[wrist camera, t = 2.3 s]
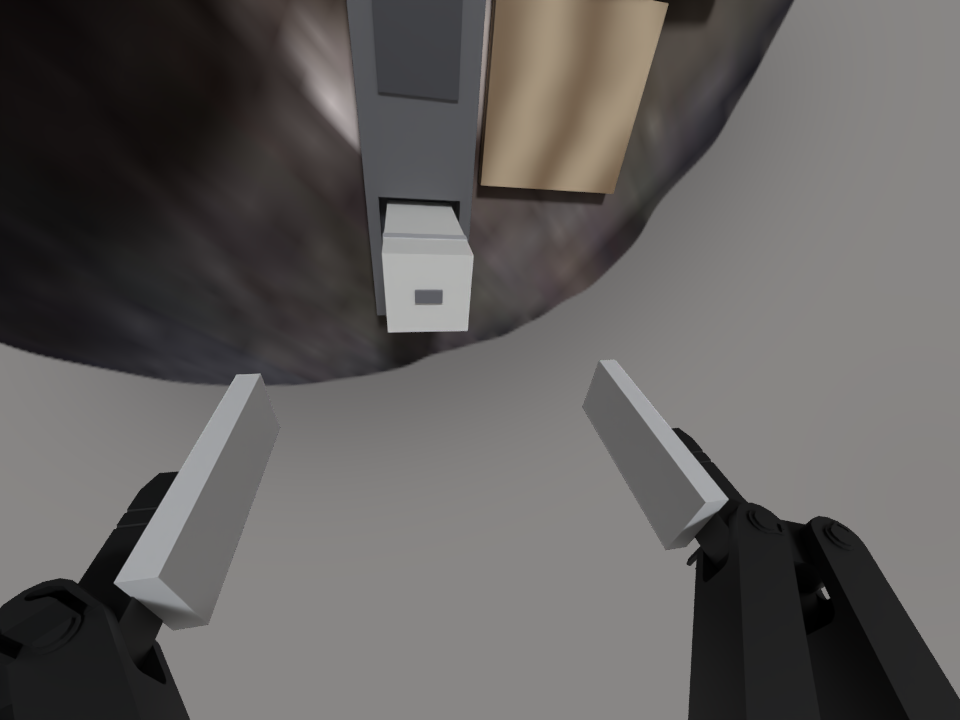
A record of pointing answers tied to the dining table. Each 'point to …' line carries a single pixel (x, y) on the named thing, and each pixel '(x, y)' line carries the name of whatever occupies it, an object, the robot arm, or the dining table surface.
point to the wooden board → (564, 90)
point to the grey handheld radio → (416, 106)
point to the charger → (425, 268)
